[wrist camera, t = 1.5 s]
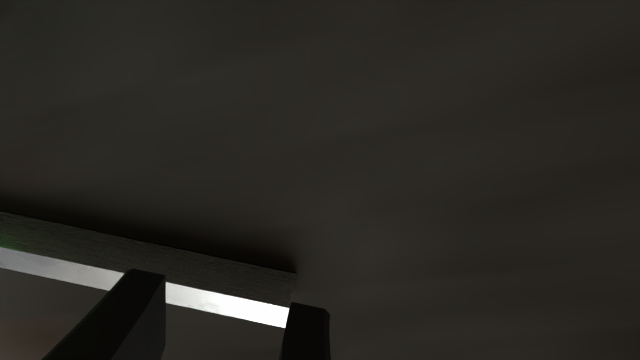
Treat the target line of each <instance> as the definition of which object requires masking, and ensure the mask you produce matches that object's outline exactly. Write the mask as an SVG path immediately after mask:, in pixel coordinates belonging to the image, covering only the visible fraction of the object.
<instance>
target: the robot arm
mask: <svg viewBox="0 0 640 360" xmlns="http://www.w3.org/2000/svg"><path fill="white" fill-rule="evenodd" d="M329 320H330V314H329V313H328V312H327V311H326V310H325V309H323V308H318V307H313V306H308V305H304V304H299V303H294V302H291V306H290V310H289V315H288V319H287V324H286V328H285V333H284V337H283V342H282V347H281V352H280V357H279V360H331V358H330V341H329ZM165 333H166V275H162V274H158V273H153V272H148V271H144V270H139V269H134V268H132V269H130V270H128V271H126V272H125V273H124V275H123V276H122V277H121V278H120V279H119V280H118V282H117V283H116V284H115V285H114V286H113V287H112V288H111V289H110V290H109V292H108V293H107V294H106V295H105V296H104V297H103V298H102V299H101V300H100V301H99V303H98V304H97V305H96V306H95V307H94V308H93V309H92V310H91V311H90V312H89V313H88V314H87V315H86V316H85V317H84V318H83V319H82V320H81V321H80V322H79V323H78V324H77V325H76V326H75V327H74V329H73V330H72V331H71V332H69V333H68V334H67V335H66V336H65V337H64V338H63V339H62V340H61V341H60V342H59V343H58V344H57V345H56V346H55V347H54V348H53V349H52V350H51V351H50V352H49V353H48V354H47V355H46V356H45V357H44V358H43V359H42V360H161V357H162V354H163V351H164V348H165Z"/></svg>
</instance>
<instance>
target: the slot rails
mask: <svg viewBox="0 0 640 360" xmlns="http://www.w3.org/2000/svg"><path fill="white" fill-rule="evenodd" d="M0 267H1V268H6V269H10V270H15V271H20V272H24V273H29V274H34V275H39V276H43V277H48V278H53V279H57V280H62V281H67V282H72V283H76V284H81V285H86V286H90V287H95V288H100V289H105V290H110V289H111V288H112V287H113V286H114V285H115V284H116V283H117V282H118V280H119V279H120V278H121V277H122V276H123V275H124V273H125V272H126V271H128V270H130V269H132V268H134V269H139V270H144V271H148V272H153V273H158V274H162V275H166V303H171V304H175V305H180V306H185V307H189V308H194V309H199V310H204V311H208V312H213V313H218V314H222V315H227V316H232V317H237V318H241V319H246V320H251V321H255V322H260V323H265V324H270V325H274V326H279V327H284V328H285V325H286V321H287V316H288V312H289V307H290V303H291V298H292V293H293V289H294V284H295V279H296V274H294V273H289V272H284V271H280V270H275V269H270V268H266V267H261V266H256V265H251V264H247V263H242V262H237V261H233V260H228V259H223V258H218V257H214V256H209V255H204V254H200V253H195V252H190V251H185V250H181V249H176V248H171V247H167V246H162V245H157V244H152V243H148V242H143V241H138V240H134V239H129V238H124V237H119V236H115V235H110V234H105V233H101V232H96V231H91V230H86V229H82V228H77V227H72V226H68V225H63V224H58V223H53V222H49V221H44V220H39V219H35V218H30V217H25V216H20V215H16V214H11V213H6V212H2V211H0Z"/></svg>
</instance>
